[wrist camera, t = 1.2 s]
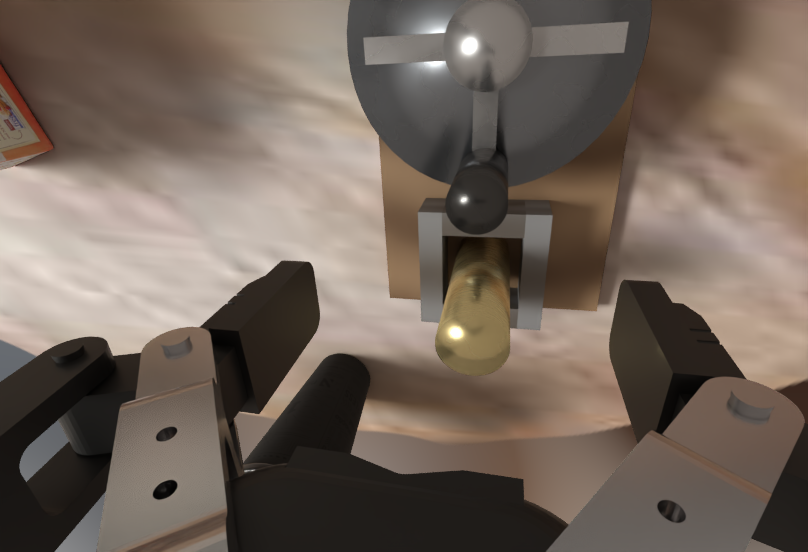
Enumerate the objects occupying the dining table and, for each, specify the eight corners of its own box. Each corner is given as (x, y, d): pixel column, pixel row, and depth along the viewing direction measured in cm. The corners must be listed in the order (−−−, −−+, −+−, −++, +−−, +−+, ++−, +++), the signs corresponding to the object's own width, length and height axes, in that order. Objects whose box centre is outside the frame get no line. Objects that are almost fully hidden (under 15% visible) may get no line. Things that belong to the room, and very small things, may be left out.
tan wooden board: (369, -69, 25) (346, -88, 21) (663, -101, 22) (692, -130, 18) (392, 291, 35) (380, 318, 32) (594, 304, 32) (604, 335, 28)
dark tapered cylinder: (402, 377, 39) (316, 643, 21) (355, 419, 42) (248, 677, 25) (333, 324, 38) (184, 559, 20) (291, 372, 41) (133, 607, 24)
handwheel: (343, -116, 21) (265, -193, 14) (673, -161, 18) (770, -285, 11) (368, 185, 27) (322, 229, 20) (613, 188, 24) (653, 240, 18)
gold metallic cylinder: (457, 229, 31) (434, 311, 21) (511, 230, 30) (512, 317, 20) (457, 275, 32) (435, 371, 23) (508, 278, 31) (507, 379, 22)
